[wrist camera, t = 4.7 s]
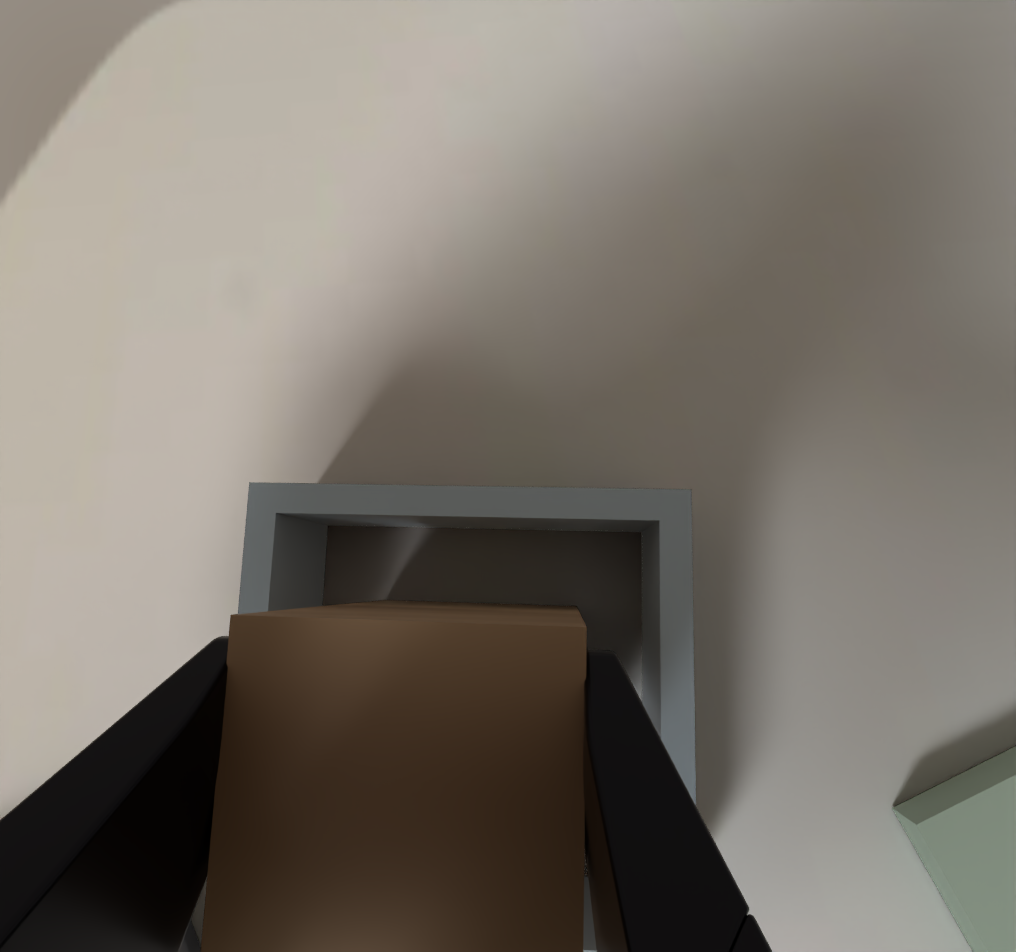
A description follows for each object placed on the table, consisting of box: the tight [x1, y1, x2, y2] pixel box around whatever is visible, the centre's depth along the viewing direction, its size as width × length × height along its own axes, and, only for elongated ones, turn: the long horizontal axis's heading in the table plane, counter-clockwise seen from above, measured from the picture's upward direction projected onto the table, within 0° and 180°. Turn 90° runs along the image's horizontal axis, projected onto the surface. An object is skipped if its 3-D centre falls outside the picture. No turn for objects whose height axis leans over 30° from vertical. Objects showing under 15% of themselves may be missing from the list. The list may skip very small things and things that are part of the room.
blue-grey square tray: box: [238, 482, 696, 952], centre depth 14 cm, size 9×9×3 cm
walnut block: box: [201, 600, 587, 952], centre depth 12 cm, size 4×4×8 cm
